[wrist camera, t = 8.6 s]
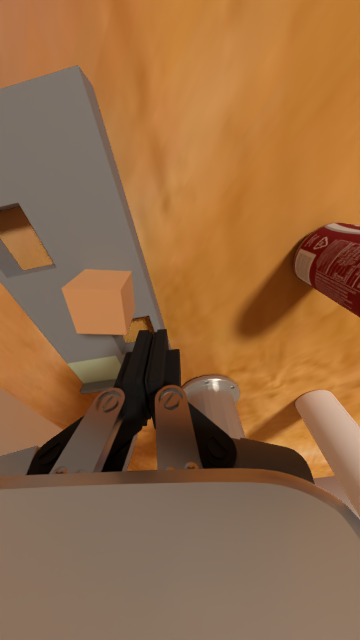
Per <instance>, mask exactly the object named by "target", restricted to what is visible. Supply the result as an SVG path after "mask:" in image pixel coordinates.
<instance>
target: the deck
mask: <svg viewBox="0 0 360 640" xmlns="http://www.w3.org/2000/svg"><path fill="white" fill-rule="evenodd" d="M18 206H20V207H21V208H22V210H23V212H24V213H25V215H26V217H27V218H28V220H29V222H30V223H31V225H32V227H33V229H34V230H35V232H36V234H37V235H38V237H39V239H40V240H41V242H42V244H43V245H44V247H45V249H46V250H47V252H48V254H49V256H50V257H51V259H52V261H53V262H54V264H52V265H47V266H42V267H37V268H33V269H28V270H22V269H21V267H20V266H19V265H18V263H17V262H16V260H15V259H14V258H13V256H12V255H11V253H10V252H9V251H8V249H7V248H6V246H5V245H4V243H3V242H2V241H1V239H0V282H1V283H2V284H3V286H4V287H5V288H6V289H7V290H8V292H9V293H10V294H11V295H12V297H13V298H14V299H15V300H16V301H17V303H18V304H19V305H20V306H21V308H22V309H23V310H24V311H25V313H26V314H27V315H28V316H29V317H30V319H31V320H32V321H33V322H34V324H35V325H36V326H37V327H38V328H39V330H40V331H41V332H42V333H43V335H44V336H45V337H46V338H47V340H48V341H49V342H50V343H51V344H52V346H53V347H54V348H55V349H56V351H57V352H58V353H59V354H60V355H61V357H62V358H63V359H64V360H65V362H66V363H67V364H68V365H69V367H70V368H71V369H72V370H73V371H74V373H75V374H76V375H77V376H78V378H79V379H80V380H81V381H82V382H83V386H82V388H81V390H80V392H81V394H87V393H94V392H101V391H104V390H106V389H109V388H113V387H114V384H115V381H116V379H117V376H118V373H119V371H120V368H121V365H122V363H123V360H124V357H125V354H126V353H127V352H132V351H133V348H134V345H135V342H133V343H127V344H126V343H125V341H124V339H123V337H122V335H113V334H77V332H76V329H75V326H74V323H73V320H72V317H71V315H70V312H69V309H68V306H67V303H66V300H65V297H64V294H63V291H62V289H61V288H62V287H64V286H65V285H66V284H67V283H69V282H70V281H71V280H72V279H74V278H75V277H76V276H77V275H79V274H80V273H81V272H82V271H84V270H85V269H93V270H114V271H132V280H133V290H134V301H135V313H134V315H133V318H139V317H144V316H149V317H150V320H151V323H152V326H153V329H154V331H155V332H157V330H158V329H165V327H164V323H163V320H162V317H161V313H160V310H159V307H158V303H157V300H156V297H155V293H154V290H153V287H152V283H151V280H150V277H149V273H148V270H147V267H146V263H145V260H144V257H143V253H142V250H141V247H140V243H139V240H138V237H137V233H136V230H135V226H134V223H133V220H132V216H131V213H130V210H129V206H128V203H127V200H126V196H125V193H124V190H123V186H122V183H121V180H120V176H119V173H118V170H117V166H116V163H115V160H114V156H113V153H112V150H111V146H110V143H109V140H108V136H107V133H106V130H105V126H104V123H103V119H102V116H101V113H100V109H99V106H98V103H97V99H96V96H95V93H94V89H93V86H92V84H91V83H90V81H89V80H88V79H87V77H86V76H85V74H84V73H83V72H82V70H81V69H80V67H79V66H78V65H76V66H73V67H70V68H67V69H63V70H60V71H57V72H54V73H51V74H47V75H44V76H41V77H38V78H34V79H31V80H28V81H25V82H21V83H18V84H15V85H12V86H8V87H5V88H2V89H0V211H1V210H6V209H10V208H14V207H18ZM133 318H132V319H133ZM168 345H169V350H171V347H170V343H169V340H168Z"/></svg>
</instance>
